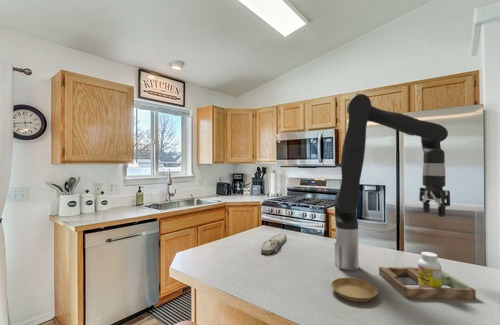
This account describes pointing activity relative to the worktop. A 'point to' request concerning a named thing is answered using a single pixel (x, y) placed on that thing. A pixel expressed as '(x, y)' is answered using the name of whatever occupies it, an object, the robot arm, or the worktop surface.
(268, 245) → the elongated rock
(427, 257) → the supplement bottle
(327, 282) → the worktop surface
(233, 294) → the worktop surface
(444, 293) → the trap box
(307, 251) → the worktop surface
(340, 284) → the plant saucer
